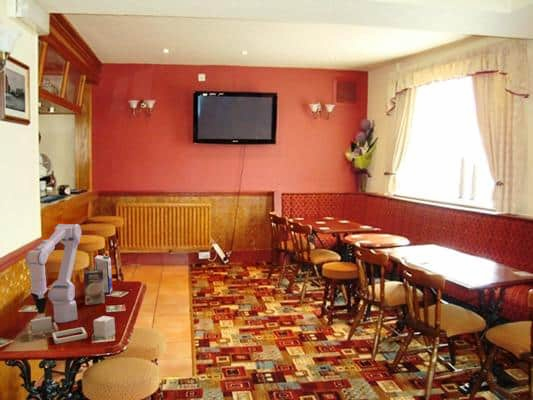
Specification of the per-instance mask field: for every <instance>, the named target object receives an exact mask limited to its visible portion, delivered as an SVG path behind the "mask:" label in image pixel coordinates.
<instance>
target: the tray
mask: <svg viewBox="0 0 533 400" xmlns="http://www.w3.org/2000/svg"><path fill="white" fill-rule="evenodd" d="M77 333H82V334H77ZM73 334H77V335H73ZM67 335H68V336H67ZM69 335H71V336H69ZM62 336H66V337H62ZM57 337H58V338H57ZM60 337H62V338H60ZM52 338H53V341H54V344H55V345H57V344H62V343H68V342H73V341H78V340H82V339H88V333H87V332H86V330H85V328H84V327H83V326H81V327H76V328H71V329H66V330H65V329H64V330H61V331H58V332H55V333H52Z"/></svg>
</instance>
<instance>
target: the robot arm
mask: <svg viewBox="0 0 533 400" xmlns="http://www.w3.org/2000/svg"><path fill="white" fill-rule="evenodd" d="M82 232H83V231H82V229H81V226H80V224H78V223H76V224H69V223H68V224H67V223H66V224H65V223H58V224H57V225H56V226H55V227H54V232H53V233H52V235H51V236H50V237H48V239H43V240H42V241H41V243H39V245H38V246H36V247H35V248H34V249H33V250H32V249H31V250H29V251H28V252H27V253H26V257H25V262H26V264H27V268H28V269H29V277H30V278H29V279H30V287H31V288H30V290H28V294H31V296H32V300H33V302H34V303H35V308H36V310H37V313H38V314H39V315H43V314H45V312H46V305H47V301H48V299H49V301H50V302H51V304H52V305H53V317H54V322H55V323H56V324H57V323H58V324H59V323H60V324H61V323H62V324H63V323H68V322H71V321H75V320H76V321H77V320H78V309H77V303H76V300H75V299H74V298H75V295H76V294H75V293H76V292H75V289H76V286H75V285H74V284H73V283H72V281H71V279H72V274H73V269H74V266H75V265H74V264H75V260H76V256H77V255H76V254H77V250H78V245H79V244H80V241H81V237H82ZM59 242H60V243H61V244H62V245H64V251H63V255H62V259H61V264H60V268H59V273H58V276H57V277H58V278H57V280H55V281H54V282H52V284H51V286H50V288H49V290H48V288H47V278H46V277H47V276H46V275H47V274H46V266H45V265H46V263H47V261H48V258H49V256H50V254H52V252H53V251H54V250H55V248H56V245H57V244H58V243H59ZM47 291H48V295H47V296H45V295H46V292H47Z"/></svg>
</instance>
